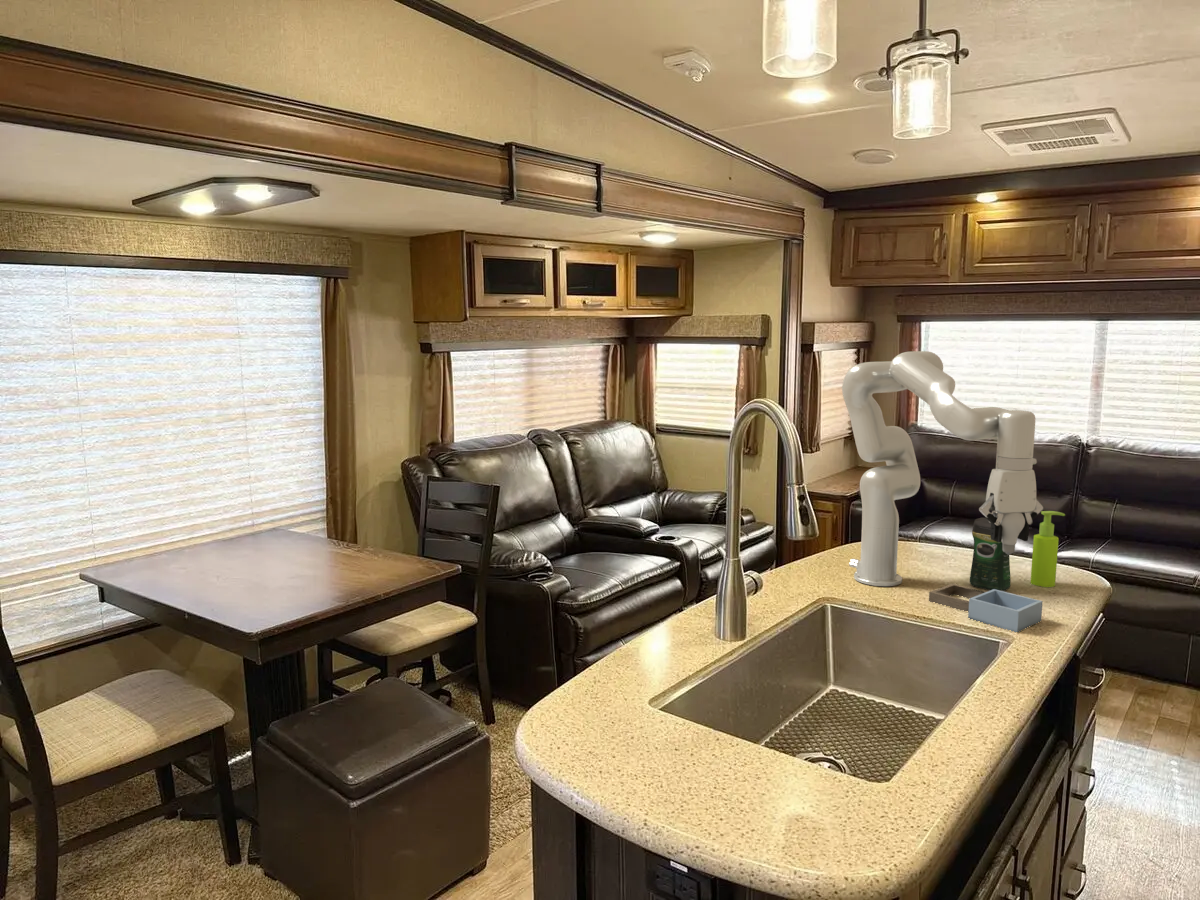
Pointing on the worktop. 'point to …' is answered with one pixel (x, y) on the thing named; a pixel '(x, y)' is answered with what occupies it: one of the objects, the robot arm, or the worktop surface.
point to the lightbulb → (1011, 530)
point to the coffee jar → (988, 559)
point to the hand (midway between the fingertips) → (1009, 539)
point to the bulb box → (1005, 610)
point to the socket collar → (944, 597)
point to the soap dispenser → (1045, 553)
